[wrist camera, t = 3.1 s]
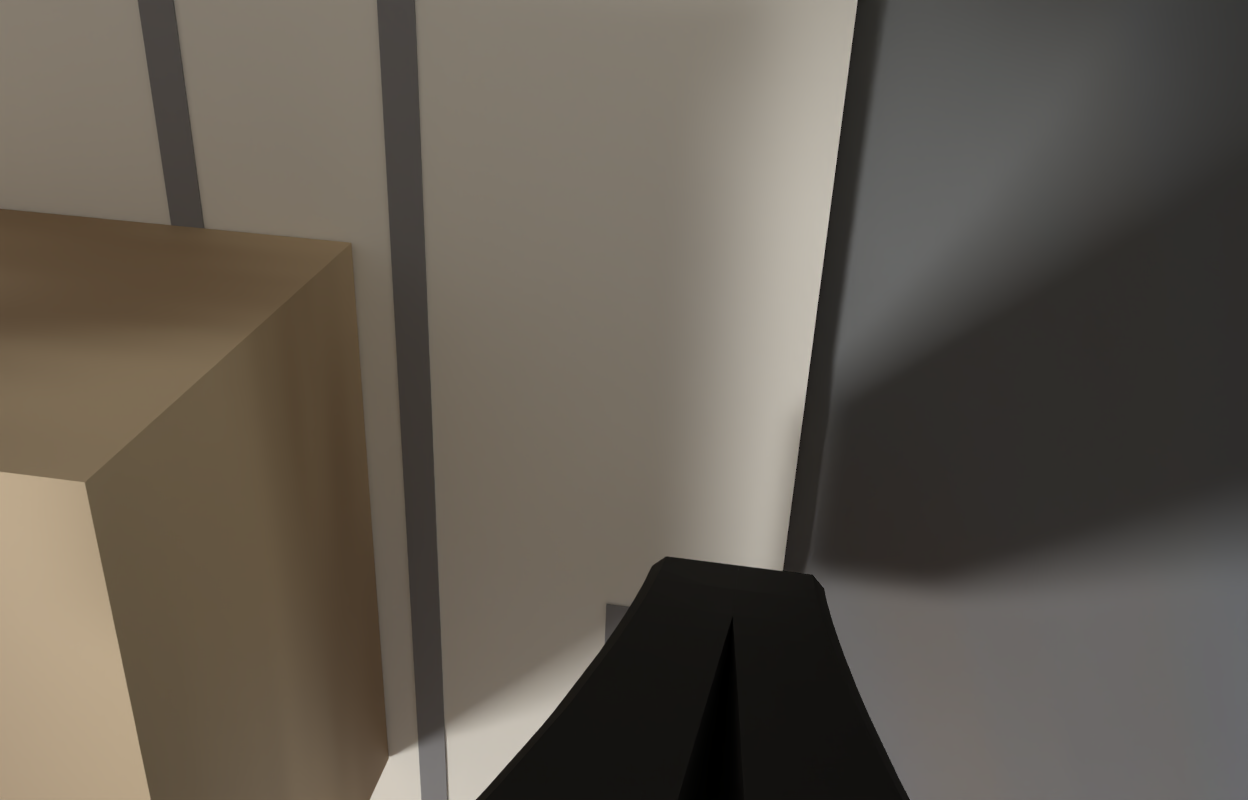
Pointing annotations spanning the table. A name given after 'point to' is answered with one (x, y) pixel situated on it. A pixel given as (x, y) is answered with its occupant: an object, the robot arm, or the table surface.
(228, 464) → the oak block
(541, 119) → the letter
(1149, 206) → the table surface
